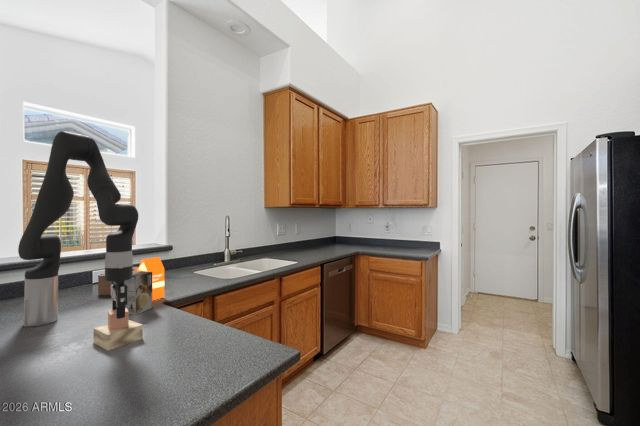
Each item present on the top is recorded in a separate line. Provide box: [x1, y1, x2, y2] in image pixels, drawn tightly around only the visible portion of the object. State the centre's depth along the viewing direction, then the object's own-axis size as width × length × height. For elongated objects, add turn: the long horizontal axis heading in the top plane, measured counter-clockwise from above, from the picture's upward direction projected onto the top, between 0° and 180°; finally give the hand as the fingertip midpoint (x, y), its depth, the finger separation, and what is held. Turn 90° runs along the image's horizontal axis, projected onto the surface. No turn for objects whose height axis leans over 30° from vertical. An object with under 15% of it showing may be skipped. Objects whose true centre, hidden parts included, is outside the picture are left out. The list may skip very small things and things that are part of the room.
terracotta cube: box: [107, 308, 130, 331], centre depth 95 cm, size 5×5×5 cm
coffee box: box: [125, 271, 154, 315], centre depth 124 cm, size 9×6×16 cm
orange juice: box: [137, 256, 166, 301], centre depth 140 cm, size 8×9×20 cm
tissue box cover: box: [97, 266, 139, 296], centre depth 160 cm, size 26×14×10 cm, turn 0°
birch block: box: [93, 319, 144, 352], centre depth 95 cm, size 10×10×5 cm
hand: (118, 314), depth 95 cm, fingers open, 8 cm apart
